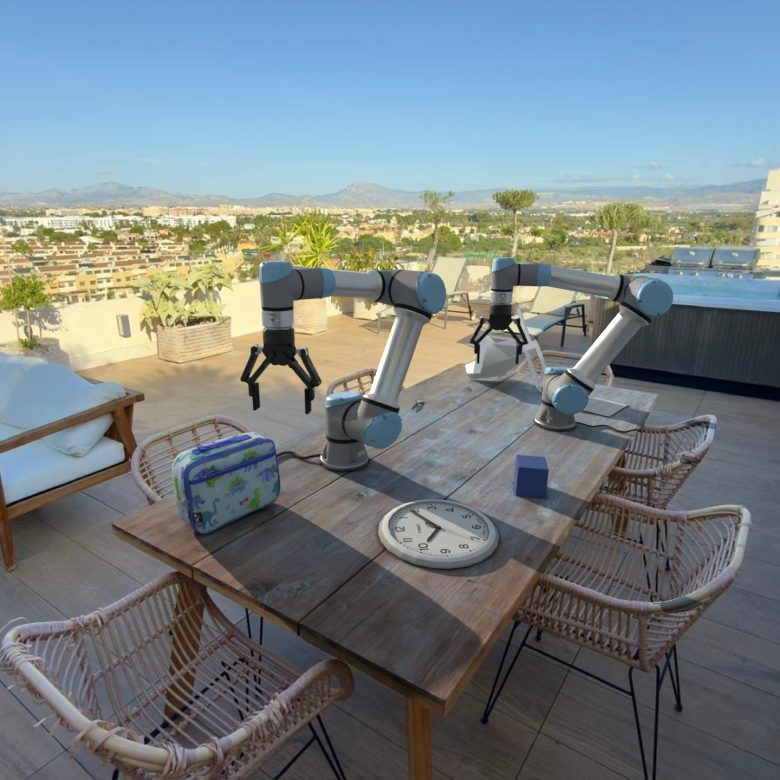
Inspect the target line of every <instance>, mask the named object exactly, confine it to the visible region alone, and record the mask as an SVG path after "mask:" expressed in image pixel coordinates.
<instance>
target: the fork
mask: <svg viewBox="0 0 780 780" xmlns="http://www.w3.org/2000/svg"><path fill="white" fill-rule="evenodd" d="M425 397H426V395H420V396H419V397H418V398H417V402H416V403H414V404H413V406H412V407H411V410H413V409H415V408H416V407H418V405H419V403H423V402H424V400H425Z"/></svg>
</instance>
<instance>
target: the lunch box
mask: <svg viewBox="0 0 780 780" xmlns="http://www.w3.org/2000/svg"><path fill="white" fill-rule="evenodd" d="M280 475H281V474H280V467H279V462H278V457H277V448H276V444H275V442H274V441H273V440H272V439H271V438H266V437H264V436H262V435H261V433H260V434H259V433H258V432H254V431H253V432H252V431H250V432H244V433H239V434H235V435H231V436H228V437H224V438H222V439H217V440H214V441H211V442H208V443H205V444H202V445H201V444H199V445H196V447H192V448H190V449H187V450H185V451H182V452H181V453H179V454H178V455H177V456H176V457H175V458H174V460H173V462H172V465H171V477H172V483H173V490H174V491H173V492H174V496H175V503H176V508H177V513H178V516H179V518H180V519H181V521H183V522H185V523H187V524H188V525H189V526H190V527H191V528H192V529H193V531H195V532H197V533H199V534H202V535H206V534H210V533H213V532H214V531H216V530H218V529H220V528H222V527H224V526H226V525H228V524H231V523H233V522H235V521H237V520H239V519H241V518H244V517H245V516H247V515H249V514H251V513H254V512H256V511H258V510H261V509H264V508H266V507H268V506H270V505H272V504H273V503H275V501H277V499H279V495H280V493H281V476H280Z"/></svg>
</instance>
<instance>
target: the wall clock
mask: <svg viewBox="0 0 780 780" xmlns="http://www.w3.org/2000/svg"><path fill="white" fill-rule="evenodd" d="M377 534H378V536H379V540H380V542H381V544H382V545H383V546H384V547H385V549H386V550H387V551H388V552H390V553H391V554H393V555H394V556H395V557H397V558H399V559H400V560H403V561H405V562H407V563H410V564H412V565H415V566H420V567H426V568H429V569H443V570H446V569H447V570H450V569H451V570H452V569H460V568H466V567H469V566H472V565H475V564H478V563H481V562H483V561H484V560H486V559H487V558H489V557H490V556H491V555H492V554H493V553H494V552H495V551H496V549H497V548H498V545H499V540H500V535H499V531H498V528H497V526H496V525H495V523H493V521H492V520H491V519H490V518H489V517H488V516H486V515H485V514H484V513H482V512H481V511H479V510H477V509H475V508H473V507H471V506H469V505H466V504H463V503H459V502H457V501H452V500H445V499H430V498H429V499H420V500H414V501H410V502H407V503H405V502H404V503H403V504H401V505H398V506H396V507H394V508H392V509H391V510H390V511H388V512H387V513H386V514H384V516H383V517H382V518H381V520H380V521H379V524H378V531H377Z"/></svg>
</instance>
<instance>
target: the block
mask: <svg viewBox="0 0 780 780" xmlns="http://www.w3.org/2000/svg"><path fill="white" fill-rule="evenodd" d="M549 471H550V469H549V466H548V462H547V459H546V456H538V455H526V454H524V455H523V454H516V455H515V465H514V476H513V486H514V487H513V488H514V494H515V496H518V497H529V498H541V499H546V497H547V487H548V481H549Z"/></svg>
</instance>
